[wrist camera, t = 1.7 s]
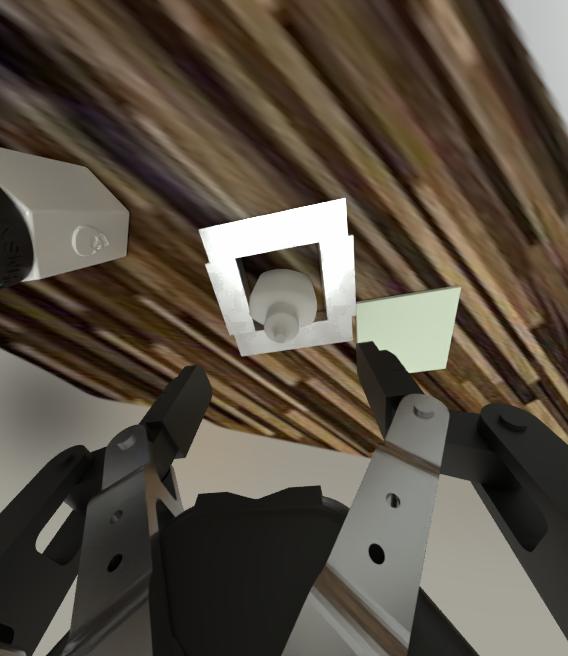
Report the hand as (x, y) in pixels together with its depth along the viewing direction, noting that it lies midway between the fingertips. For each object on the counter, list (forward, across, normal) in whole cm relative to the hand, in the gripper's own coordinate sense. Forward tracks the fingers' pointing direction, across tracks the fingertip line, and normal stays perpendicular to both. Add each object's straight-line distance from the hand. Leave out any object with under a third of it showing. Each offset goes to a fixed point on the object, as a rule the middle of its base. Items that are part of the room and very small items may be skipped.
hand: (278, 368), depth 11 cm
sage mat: (+15, -13, +9) cm, 22 cm away
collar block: (+15, 0, 0) cm, 15 cm away
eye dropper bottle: (+15, 0, 0) cm, 15 cm away
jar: (+15, +18, -10) cm, 25 cm away
